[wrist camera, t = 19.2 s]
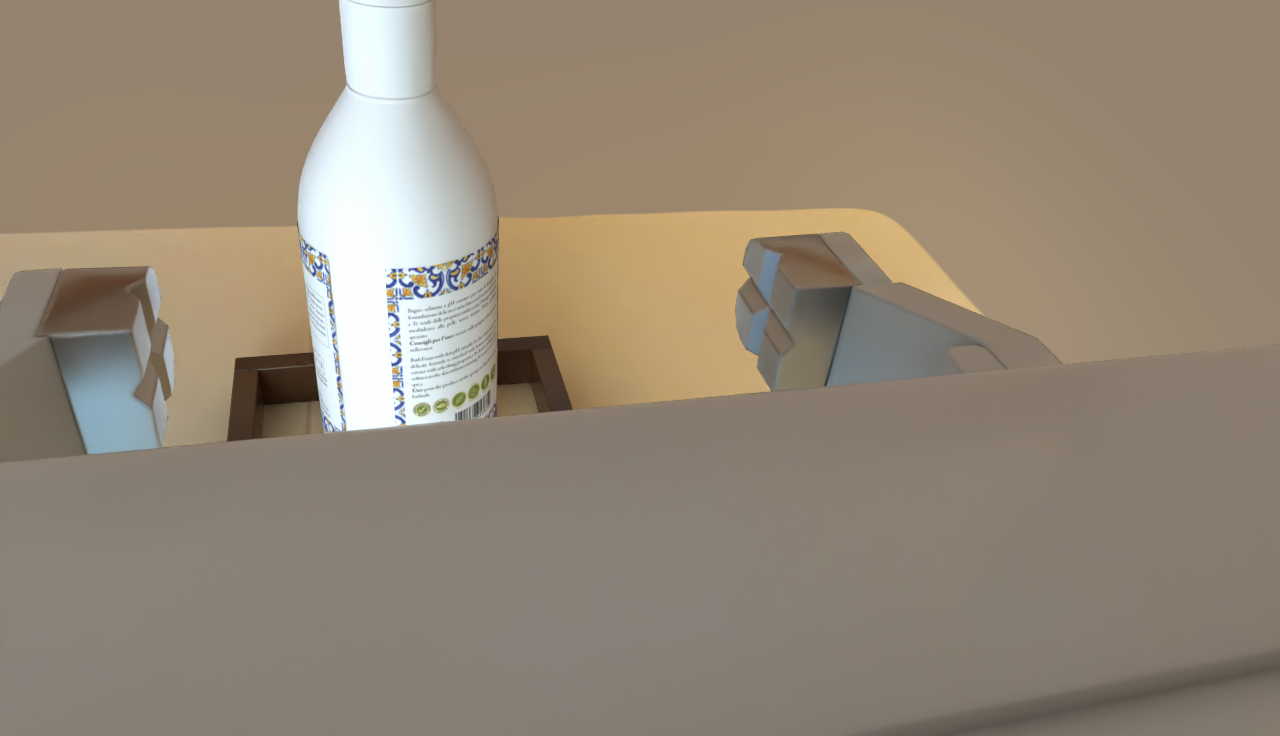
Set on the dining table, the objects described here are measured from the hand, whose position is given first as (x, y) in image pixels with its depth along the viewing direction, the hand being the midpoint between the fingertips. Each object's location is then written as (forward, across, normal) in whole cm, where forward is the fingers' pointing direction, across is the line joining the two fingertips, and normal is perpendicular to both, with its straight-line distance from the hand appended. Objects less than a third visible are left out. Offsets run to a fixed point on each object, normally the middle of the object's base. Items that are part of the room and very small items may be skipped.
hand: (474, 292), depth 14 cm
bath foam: (+20, 0, +21) cm, 29 cm away
